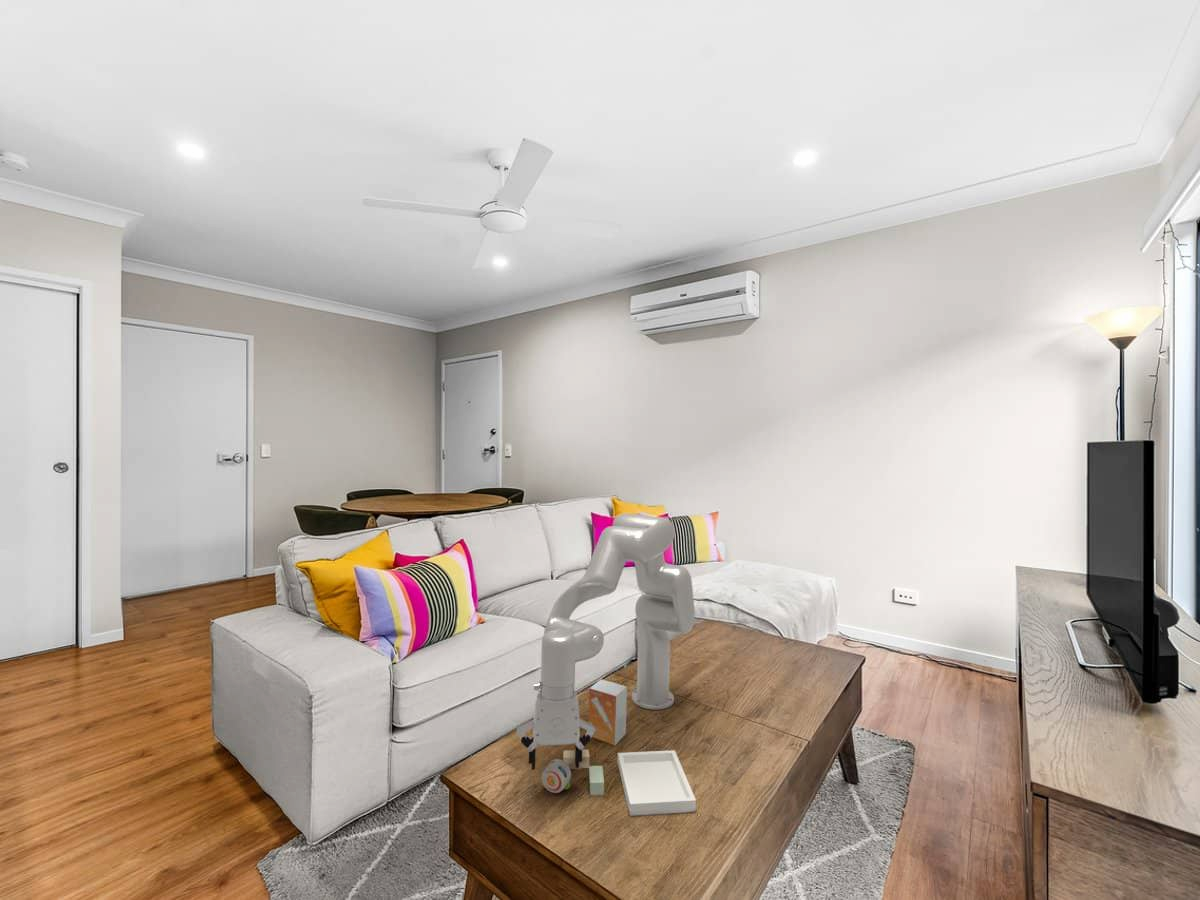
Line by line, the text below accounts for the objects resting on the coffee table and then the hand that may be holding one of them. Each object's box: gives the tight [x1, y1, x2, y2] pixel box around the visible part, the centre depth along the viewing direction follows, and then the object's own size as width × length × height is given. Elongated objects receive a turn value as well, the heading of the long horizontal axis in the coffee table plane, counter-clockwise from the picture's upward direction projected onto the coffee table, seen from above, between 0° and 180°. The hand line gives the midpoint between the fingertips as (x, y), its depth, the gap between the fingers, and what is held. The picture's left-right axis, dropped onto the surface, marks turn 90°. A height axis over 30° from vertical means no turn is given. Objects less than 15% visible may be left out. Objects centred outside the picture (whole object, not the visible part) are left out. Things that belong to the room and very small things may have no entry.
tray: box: [617, 749, 697, 817], centre depth 122 cm, size 18×14×2 cm
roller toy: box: [541, 758, 572, 794], centre depth 120 cm, size 4×6×6 cm
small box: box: [588, 678, 628, 746], centre depth 142 cm, size 8×6×13 cm
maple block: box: [562, 749, 591, 770], centre depth 129 cm, size 6×3×3 cm, turn 96°
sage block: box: [588, 765, 605, 796], centre depth 122 cm, size 6×3×3 cm, turn 4°
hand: (555, 765), depth 120 cm, fingers open, 9 cm apart
